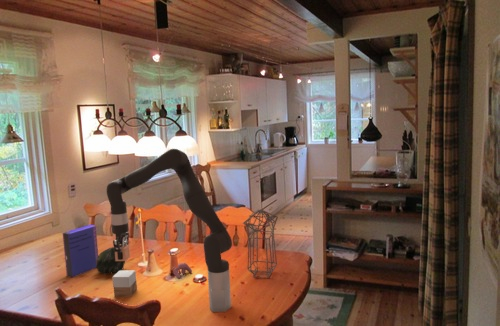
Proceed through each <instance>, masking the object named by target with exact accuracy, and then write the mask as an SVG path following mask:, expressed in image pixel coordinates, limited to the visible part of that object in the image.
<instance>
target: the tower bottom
mask: <svg viewBox="0 0 500 326" xmlns="http://www.w3.org/2000/svg"><path fill="white" fill-rule="evenodd" d="M137 283H138V282H137V280H136V281H135V282H134V283H133V284H132V285H131V286H130V287H113V294H114V298H132V297H133V295H135V293H136V292H137V291H138V285H137Z"/></svg>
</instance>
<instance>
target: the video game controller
mask: <svg viewBox="0 0 500 326" xmlns="http://www.w3.org/2000/svg"><path fill="white" fill-rule="evenodd" d="M178 270H179V273H178ZM173 272H174V273H173ZM173 272H172V273H173V274H174V276H175V277H176V278H177V277H178V278H177V279H181V275H182V274H184V275H185V273H186V272H188V273H190V274H192V273H193V271H192V268H191V267H190V266H189V265H188V264H187V263H186V262H180V263H178V267H177V268H175V269H174V271H173ZM180 274H181V275H180Z"/></svg>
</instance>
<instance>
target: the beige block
mask: <svg viewBox="0 0 500 326" xmlns="http://www.w3.org/2000/svg"><path fill="white" fill-rule="evenodd" d="M120 249H121V247H120ZM122 253H123V259H122V260H118V255H117V252H115V260H116V261H125V262H126V261H128V259H130V257H131V254H130V245H124V246H123V248H122Z"/></svg>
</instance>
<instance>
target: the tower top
mask: <svg viewBox="0 0 500 326" xmlns="http://www.w3.org/2000/svg"><path fill="white" fill-rule="evenodd" d="M136 272H137V271H136V270H132V269H131V270H127V269H126V270H123V269H122V270H120V271H118V272H117V273H116V274H113V276H112V278H111V279H112V286H113V288H114V287H130V286H131V285H132V284H133V283H134V282H135V281H136V282H137V273H136Z"/></svg>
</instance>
